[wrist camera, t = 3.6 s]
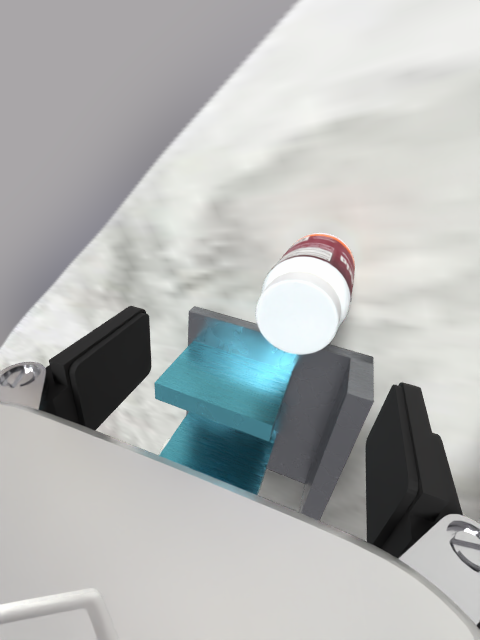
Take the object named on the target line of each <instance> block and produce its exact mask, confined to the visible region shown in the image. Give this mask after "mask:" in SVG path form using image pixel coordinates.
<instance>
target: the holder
mask: <svg viewBox="0 0 480 640" xmlns="http://www.w3.org/2000/svg"><path fill="white" fill-rule="evenodd" d="M155 399H158V400H160V401H163V402H166V403H168V404H171V405H174V406H176V407H179V408H182V409H184V410H187V414H186V417H185V418H184V420H183V421H182V423H181V424H180V426H179V427H178V429H177V430H176V431H175V433H174V434H173V436H172V437H171V439H170V440H169V442H168V443H167V444H166V446H165V447H164V449H163V450H162V452H161V453H160V455H159V456H161V457H163V458H166V459H168V460H171V461H173V462H176V463H178V464H181V465H183V466H186V467H188V468H191V469H193V470H196V471H198V472H201V473H203V474H206V475H208V476H211V477H213V478H216V479H218V480H221V481H223V482H226V483H228V484H231V485H233V486H236V487H238V488H240V489H243V490H245V491H248V492H250V493H253V494H255V495H258V493H259V490H260V487H261V484H262V481H263V478H264V474H265V471H266V468H267V469H269V470H272V471H274V472H277V473H279V474H282V475H284V476H287V477H289V478H292V479H294V480H297V481H299V482H302V483H304V484H305V486H304V491H303V496H302V501H301V506H300V511H299V513H302V514H304V515H306V516H309V517H311V518H314V519H316V520H318V521H319V520H320V518H321V516H322V514H323V512H324V509H325V507H326V505H327V503H328V501H329V498H330V496H331V494H332V492H333V490H334V487H335V485H336V483H337V481H338V479H339V476H340V474H341V472H342V470H343V468H344V465H345V463H346V461H347V459H348V457H349V454H350V452H351V450H352V448H353V446H354V443H355V441H356V439H357V437H358V435H359V432H360V430H361V428H362V426H363V424H364V421H365V419H366V417H367V415H368V413H369V411H370V408H371V406H372V404H373V402H374V389H373V357H372V356H368V355H364V354H361V353H357V352H354V351H350V350H347V349H343V348H340V347H336V346H333V345H329V344H328V345H327V346H326V347H324V348H323V349H321V350H319V351H317V352H314V353H310V354H303V355H298V354H291V353H287V352H285V351H282V350H280V349H278V348H276V347H275V346H273V345H272V344H270V343H269V342H268V341H267V340H266V339H265V337H264V336H263V335H262V333H261V332H260V330H259V327H258V325H257V324H255V323H252V322H248V321H245V320H241V319H238V318H234V317H230V316H227V315H223V314H220V313H216V312H213V311H209V310H206V309H202V308H199V307H195V306H194V307H193V308H192V309H191V310H190V311H189V329H188V347H187V348H186V349H185V350H184V352H183V353H182V354H181V355H180V356H179V357H178V358H177V359H176V360H175V361H174V362H173V363H172V365H171V366H170V367H169V368H168V369H167V370H166V371H165V372H164V373H163V374H162V375H161V376H160V378H159V379H158V380H157V381H156V382H155Z"/></svg>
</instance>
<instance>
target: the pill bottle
mask: <svg viewBox="0 0 480 640" xmlns="http://www.w3.org/2000/svg"><path fill="white" fill-rule="evenodd" d="M354 271H355V262H354V257H353V254H352V252H351V250H350V248H349V247H348V246H347V245H346V243H344V242H343V241H342V240H341V239H339V238H338V237H336V236H333V235H330V234H326V233H313V234H309V235H306V236H304V237H302V238H300V239H299V240H298V241H296V242H295V243H294V244H293V245H292V246H291V247H290V248H289V250H288V251H287V252H286V253H285V254H284V255H283V257H282V258H281V259H280V260H279V261H278V262H277V264H276V265H275V266H274V267H273V268H272V269H271V270H270V272H269V273H268V275H267V276H266V278H265V280H264V283H263V287H262V294H261V296H260V298H259V300H258V303H257V306H256V321H257V325H258V327H259V330H260V332H261V333H262V335H263V336H264V337H265V339H266V340H267V341H268V342H269V343H270V344H272V345H273V346H275V347H276V348H278V349H280V350H282V351H285V352H287V353H291V354H298V355H303V354H310V353H314V352H317V351H319V350H321V349H323V348H324V347H326V346H327V345H328V344H329V343H330V342H331V341H332V339H333V338H334V336H335V334H336V332H337V329H338V327H339V326H340V325H341V323H342V322H343V321H344V319H345V317H346V315H347V313H348V311H349V307H350V302H351V294H352V288H353V280H354Z"/></svg>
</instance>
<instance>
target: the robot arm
mask: <svg viewBox="0 0 480 640" xmlns="http://www.w3.org/2000/svg"><path fill="white" fill-rule="evenodd" d="M49 363H50V365H49V366H48V367H46V368H45V367H44V366H43V365H42V364H40V363H36V362H23V363H18V364H15V365H12V366H9V367H7V368H5V369H3V370H2V371H1V372H0V640H480V524H479V523H478V522H476V521H474V520H472V519H470V518H469V517H466V516H463V514H462V511H461V507H460V503H459V500H458V496H457V493H456V489H455V486H454V482H453V478H452V475H451V471H450V468H449V464H448V461H447V457H446V453H445V450H444V446H443V443H442V440H441V437H440V436H439V435H438V434H435V433H432V431H431V427H430V423H429V419H428V415H427V411H426V407H425V403H424V399H423V395H422V391H421V388H420V387H417V386H413V385H410V384H406V383H403V382H401V383H400V384H399V385H398V386H397V385H393V386H392V387H391V389H390V391H389V394H388V396H387V398H386V400H385V402H384V404H383V406H382V408H381V410H380V412H379V415H378V417H377V419H376V421H375V423H374V425H373V427H372V429H371V431H370V434H369V436H368V438H367V441H366V510H367V542H366V541H364V540H361V539H359V538H357V537H355V536H353V535H351V534H349V533H347V532H344V531H342V530H339V529H337V528H335V527H332V526H330V525H328V524H325V523H323V522H321V521H318V520H316V519H314V518H311V517H309V516H306V515H304V514H302V513H299V512H297V511H295V510H292V509H290V508H287V507H285V506H282V505H280V504H277V503H275V502H272V501H270V500H268V499H265V498H263V497H260V496H258V495H255V494H253V493H250V492H248V491H245V490H243V489H240V488H238V487H236V486H233V485H231V484H228V483H226V482H223V481H221V480H218V479H216V478H213V477H211V476H208V475H206V474H203V473H201V472H198V471H196V470H193V469H191V468H188V467H186V466H183V465H181V464H178V463H176V462H173V461H171V460H168V459H166V458H163V457H161V456H158V455H156V454H153V453H151V452H148V451H146V450H143V449H141V448H138V447H136V446H133V445H130V444H128V443H125V442H123V441H120V440H118V439H115V438H113V437H110V436H108V435H105V434H103V433H100V432H97V431H95V430H96V429H97V428H98V427H99V426H100V425H101V424H102V423H103V422H104V421H105V420H106V419H107V417H108V416H109V415H110V414H111V413H112V412H113V411H114V410H115V409H116V408H117V407H118V406H119V405H120V404H121V403H122V402H123V401H124V400H125V399H126V397H127V396H128V395H129V394H130V393H131V392H132V391H133V390H134V389H135V388H136V387H137V386H138V385H139V384H140V383H141V382H142V381H143V380H144V379H145V377H146V376H147V375H148V374H149V372H150V370H151V348H150V326H149V315H148V314H146V311H145V310H144V309H141V308H137V307H134V306H129V307H128V308H126V309H125V310H123V311H122V312H120V313H119V314H117V315H116V316H114V317H113V318H111V319H110V320H108V321H107V322H105V323H104V324H102V325H101V326H99V327H98V328H96V329H95V330H93V331H92V332H90V333H89V334H87V335H86V336H84V337H83V338H81V339H80V340H78V341H77V342H75V343H74V344H72V345H71V346H69V347H68V348H66V349H65V350H63V351H62V352H60V353H59V354H57V355H56V356H54V357H53V358H51V359H50V360H49Z"/></svg>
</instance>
